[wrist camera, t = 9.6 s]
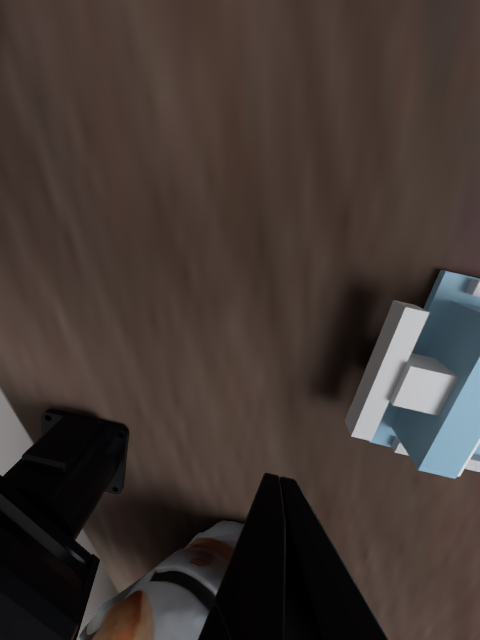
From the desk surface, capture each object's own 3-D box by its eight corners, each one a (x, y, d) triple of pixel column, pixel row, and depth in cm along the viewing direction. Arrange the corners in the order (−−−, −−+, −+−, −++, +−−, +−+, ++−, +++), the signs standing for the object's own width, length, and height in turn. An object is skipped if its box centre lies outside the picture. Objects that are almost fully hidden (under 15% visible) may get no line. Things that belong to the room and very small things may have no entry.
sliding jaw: (428, 436, 19) (462, 480, 16) (337, 415, 19) (352, 454, 16) (494, 310, 16) (553, 332, 13) (387, 286, 16) (419, 301, 13)
